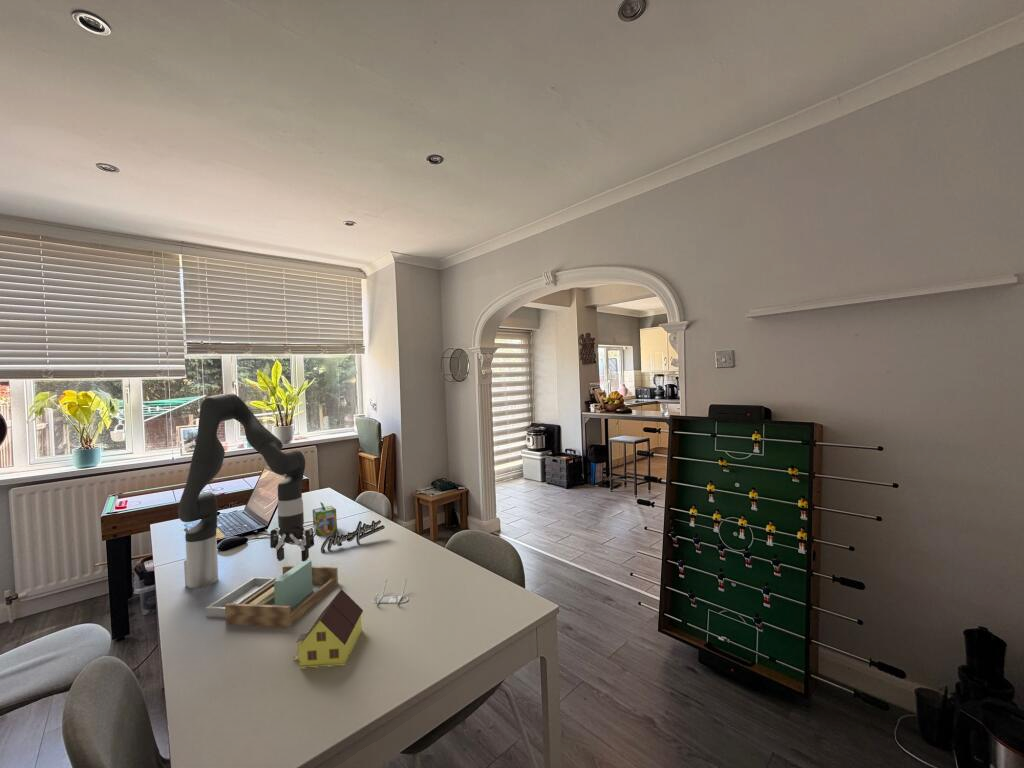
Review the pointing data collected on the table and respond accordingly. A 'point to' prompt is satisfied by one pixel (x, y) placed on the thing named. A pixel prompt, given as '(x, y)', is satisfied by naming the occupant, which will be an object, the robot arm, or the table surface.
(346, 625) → the house model
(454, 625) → the table surface
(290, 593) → the mint green rectangular block
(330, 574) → the brown wooden open box
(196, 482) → the robot arm
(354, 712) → the table surface
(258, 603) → the offcut short
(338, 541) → the nameplate
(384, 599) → the wall mount rack
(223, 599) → the tray
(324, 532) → the juice box
